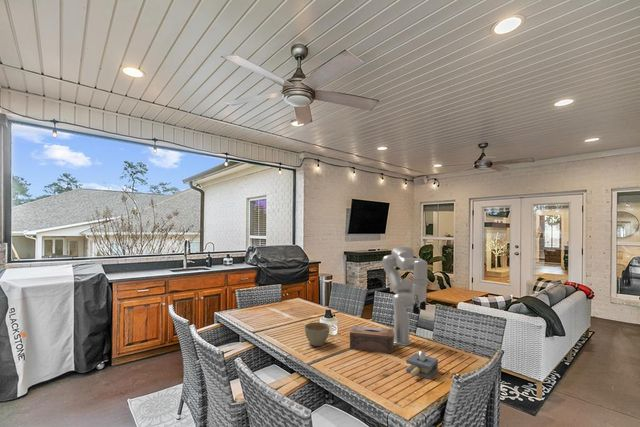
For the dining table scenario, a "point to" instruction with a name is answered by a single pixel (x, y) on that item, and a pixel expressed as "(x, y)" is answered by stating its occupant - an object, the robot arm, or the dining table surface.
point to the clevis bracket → (422, 366)
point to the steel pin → (422, 356)
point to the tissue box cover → (371, 339)
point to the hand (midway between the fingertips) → (419, 311)
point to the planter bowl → (317, 333)
